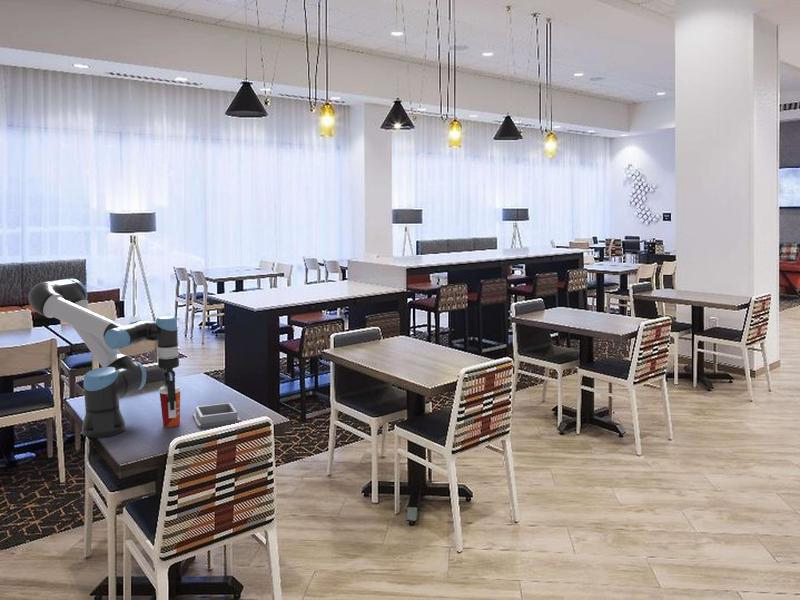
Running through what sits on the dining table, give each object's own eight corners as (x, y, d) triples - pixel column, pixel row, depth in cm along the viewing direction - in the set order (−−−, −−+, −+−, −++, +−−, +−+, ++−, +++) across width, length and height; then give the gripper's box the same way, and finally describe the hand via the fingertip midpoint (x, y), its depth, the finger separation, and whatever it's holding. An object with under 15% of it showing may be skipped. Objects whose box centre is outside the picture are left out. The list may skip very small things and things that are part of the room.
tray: (198, 428, 257) (198, 417, 257) (192, 415, 272) (192, 406, 271) (240, 422, 264) (240, 412, 263) (232, 410, 278) (232, 401, 278)
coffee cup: (175, 429, 256) (173, 390, 254) (156, 427, 257) (154, 389, 255) (186, 422, 264) (185, 385, 262) (167, 420, 266) (165, 383, 263)
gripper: (182, 361, 249) (184, 420, 252) (175, 350, 268) (178, 405, 271) (160, 363, 246) (163, 423, 249) (155, 352, 265) (158, 408, 268)
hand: (171, 414), depth 260 cm, fingers closed on coffee cup, 8 cm apart
